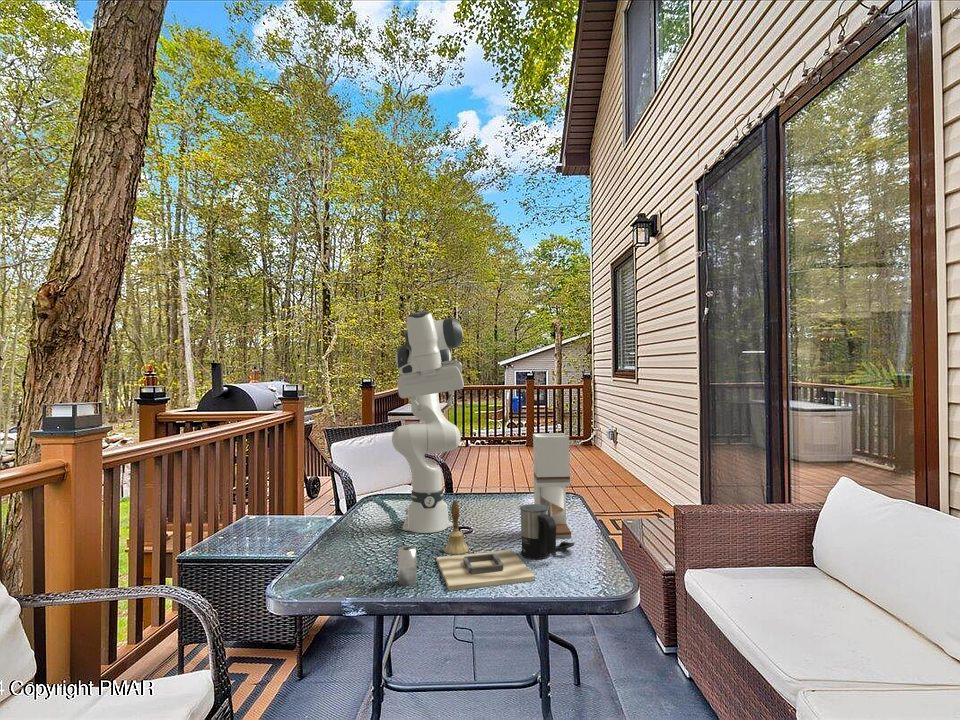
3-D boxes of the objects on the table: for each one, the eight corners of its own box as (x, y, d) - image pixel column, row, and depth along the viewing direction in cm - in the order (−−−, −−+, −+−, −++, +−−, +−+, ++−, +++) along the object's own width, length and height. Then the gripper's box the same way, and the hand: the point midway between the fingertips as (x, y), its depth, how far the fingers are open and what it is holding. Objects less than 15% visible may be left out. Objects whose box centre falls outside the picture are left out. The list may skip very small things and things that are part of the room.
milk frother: (514, 555, 156) (513, 507, 157) (542, 542, 168) (541, 498, 169) (553, 566, 147) (551, 515, 147) (580, 551, 159) (578, 504, 159)
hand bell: (449, 556, 156) (448, 505, 157) (439, 548, 164) (439, 499, 164) (473, 552, 160) (472, 502, 160) (463, 544, 167) (462, 496, 168)
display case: (538, 538, 172) (536, 437, 173) (534, 529, 182) (532, 433, 184) (571, 538, 172) (569, 436, 173) (566, 529, 182) (563, 433, 184)
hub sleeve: (397, 579, 139) (397, 546, 139) (415, 577, 140) (415, 544, 140) (399, 586, 134) (398, 552, 134) (417, 584, 135) (417, 550, 136)
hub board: (436, 561, 152) (436, 552, 152) (511, 553, 158) (511, 544, 158) (448, 590, 131) (448, 580, 131) (535, 580, 136) (534, 570, 136)
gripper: (461, 358, 156) (468, 401, 157) (397, 368, 156) (404, 411, 157) (460, 359, 149) (467, 404, 150) (393, 370, 150) (401, 414, 151)
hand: (434, 408), depth 154 cm, fingers open, 8 cm apart
